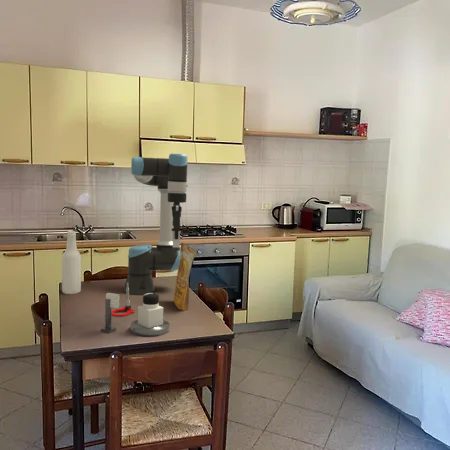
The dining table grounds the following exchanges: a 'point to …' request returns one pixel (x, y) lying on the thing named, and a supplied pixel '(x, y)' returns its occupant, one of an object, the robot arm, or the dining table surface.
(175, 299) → the pancake mix bag
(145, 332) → the disc
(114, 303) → the gray upright stand
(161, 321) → the medicine bottle
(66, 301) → the dining table surface
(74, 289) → the alcohol
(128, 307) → the tow hook
